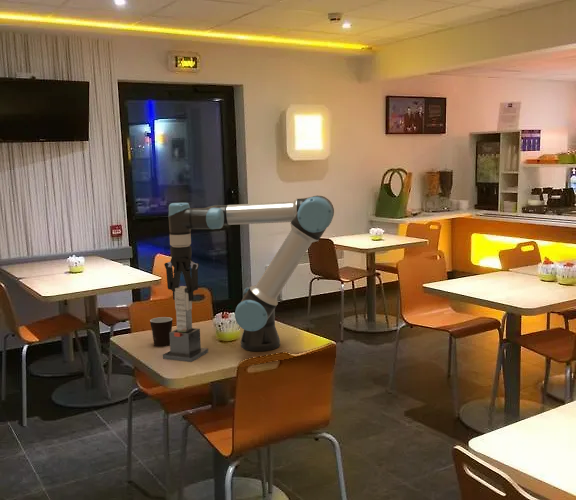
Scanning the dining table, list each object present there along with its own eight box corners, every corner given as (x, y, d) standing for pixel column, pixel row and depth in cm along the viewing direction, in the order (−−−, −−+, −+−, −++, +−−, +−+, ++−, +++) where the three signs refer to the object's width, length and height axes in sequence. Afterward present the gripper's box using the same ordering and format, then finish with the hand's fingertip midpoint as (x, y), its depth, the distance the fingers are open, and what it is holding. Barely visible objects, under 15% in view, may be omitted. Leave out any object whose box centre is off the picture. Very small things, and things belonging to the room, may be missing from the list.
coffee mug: (168, 348, 239) (167, 322, 237) (147, 347, 240) (146, 322, 239) (179, 339, 250) (178, 315, 249) (159, 339, 252) (158, 315, 250)
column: (192, 334, 229) (190, 286, 226) (186, 337, 224) (183, 288, 222) (183, 333, 230) (181, 286, 228) (176, 336, 226) (174, 288, 224)
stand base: (208, 352, 232) (207, 327, 230) (191, 362, 221) (190, 335, 219) (180, 349, 236) (179, 324, 235) (162, 358, 225) (161, 332, 224)
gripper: (206, 245, 223) (209, 308, 226) (166, 243, 230) (169, 305, 233) (195, 247, 216) (198, 313, 219) (154, 246, 223) (158, 309, 226)
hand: (183, 308), depth 226 cm, fingers closed on column, 4 cm apart
